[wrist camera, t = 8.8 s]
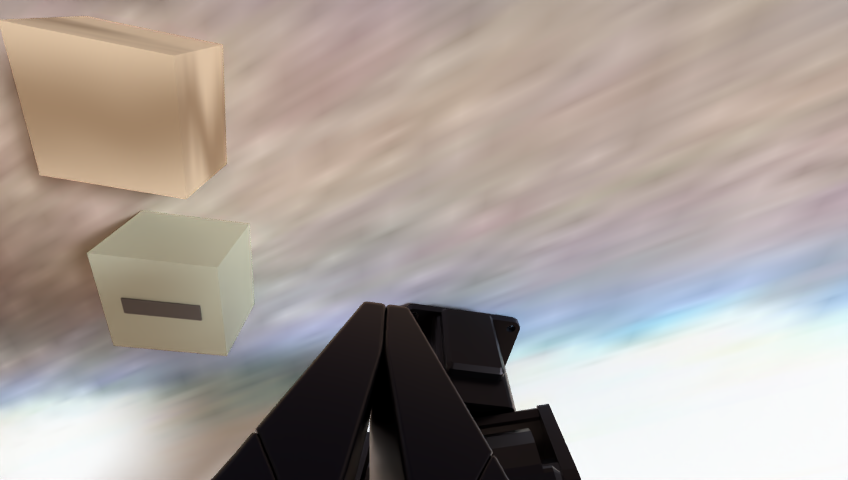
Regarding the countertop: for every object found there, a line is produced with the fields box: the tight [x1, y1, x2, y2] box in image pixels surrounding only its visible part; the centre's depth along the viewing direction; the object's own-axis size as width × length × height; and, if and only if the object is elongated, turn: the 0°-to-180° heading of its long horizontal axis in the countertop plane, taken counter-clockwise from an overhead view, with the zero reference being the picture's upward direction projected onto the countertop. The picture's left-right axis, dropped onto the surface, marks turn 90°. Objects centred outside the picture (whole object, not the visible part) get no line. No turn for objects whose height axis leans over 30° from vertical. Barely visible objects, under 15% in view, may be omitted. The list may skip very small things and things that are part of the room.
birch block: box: [0, 16, 227, 199], centre depth 16 cm, size 5×5×4 cm
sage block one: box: [87, 211, 254, 356], centre depth 20 cm, size 5×5×4 cm
